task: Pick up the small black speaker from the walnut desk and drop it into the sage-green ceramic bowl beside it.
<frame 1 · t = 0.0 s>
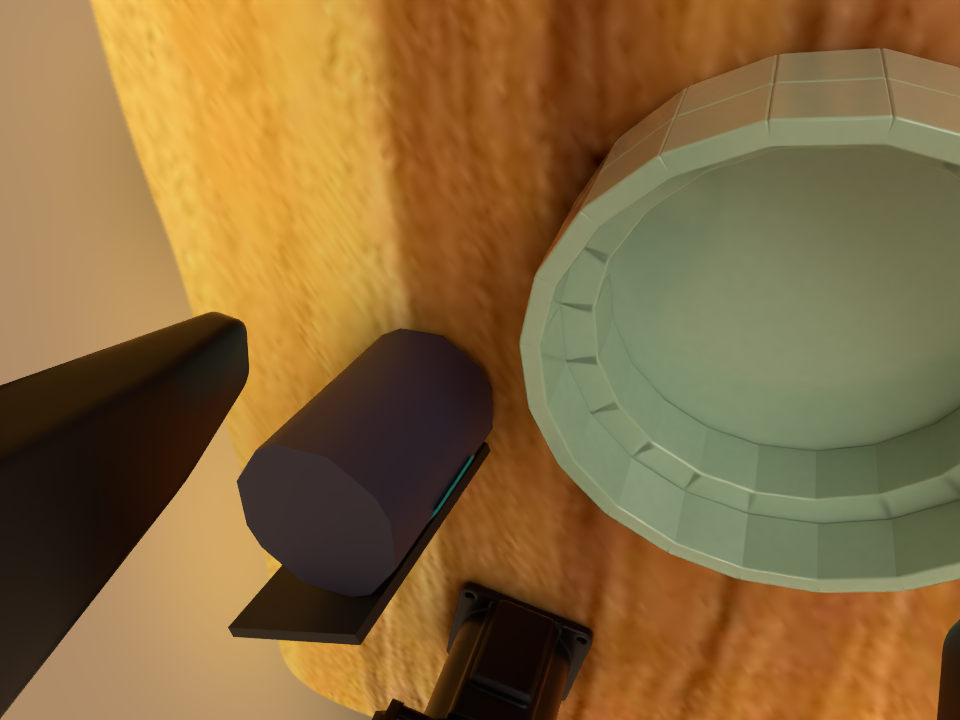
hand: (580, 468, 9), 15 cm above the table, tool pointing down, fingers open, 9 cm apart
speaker: (416, 384, 31), on the table
bowl: (802, 295, 23), on the table
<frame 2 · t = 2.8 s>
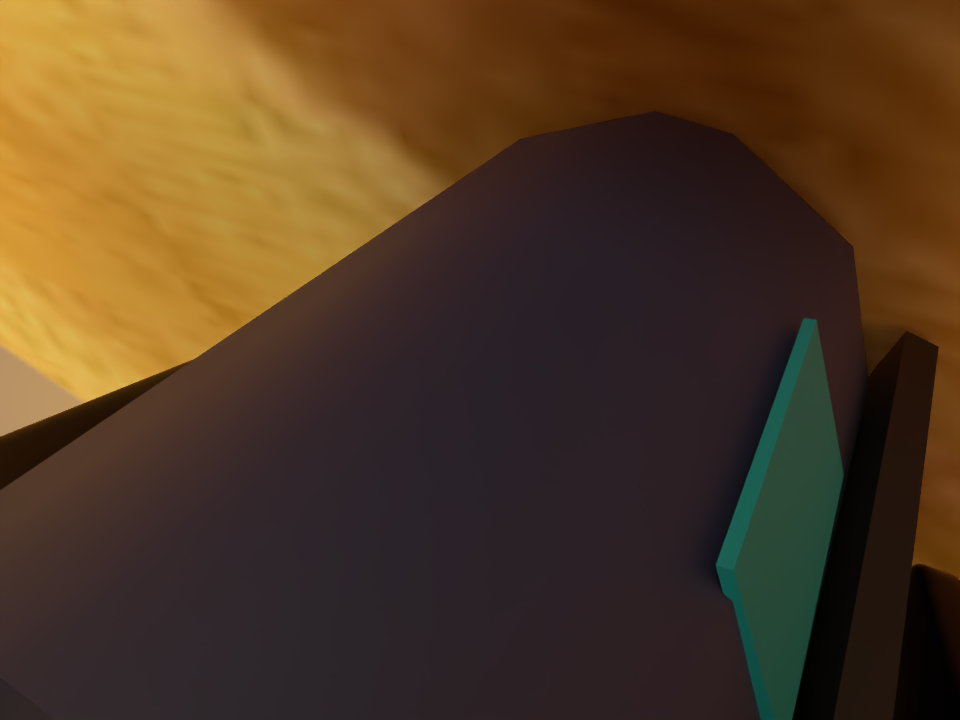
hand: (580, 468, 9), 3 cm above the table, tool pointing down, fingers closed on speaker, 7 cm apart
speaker: (616, 335, 11), on the table, touching gripper
when the fingers open (4 cm above the table, at t = 8.2 s): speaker stays where it is, point 1 cm above the table.
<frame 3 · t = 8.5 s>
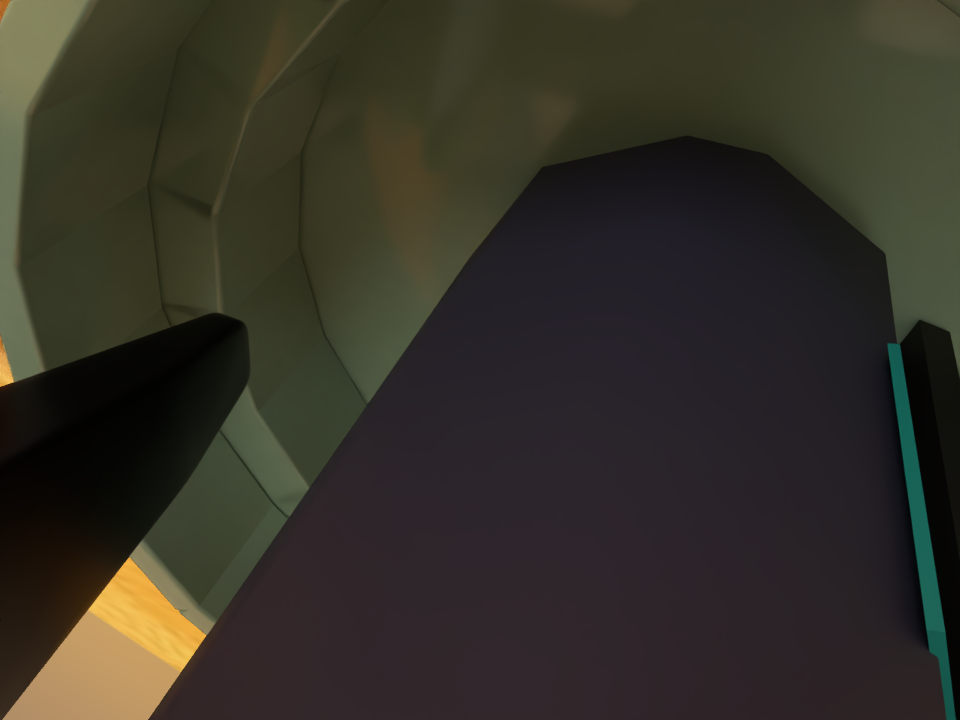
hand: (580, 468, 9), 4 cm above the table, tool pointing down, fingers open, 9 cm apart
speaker: (634, 345, 11), point 1 cm above the table
bowl: (640, 302, 12), on the table
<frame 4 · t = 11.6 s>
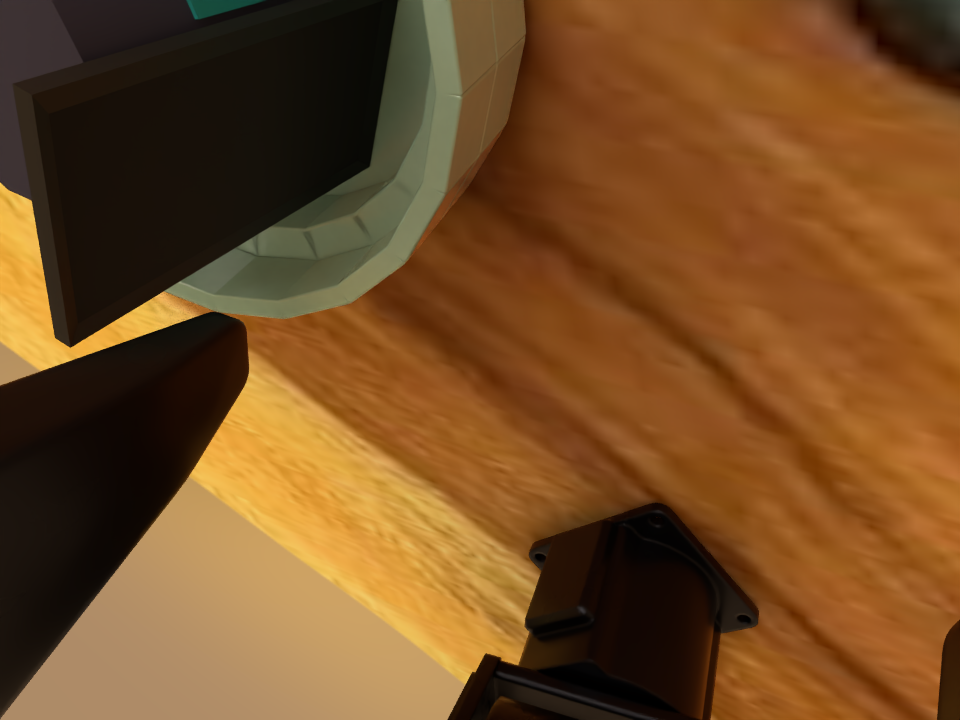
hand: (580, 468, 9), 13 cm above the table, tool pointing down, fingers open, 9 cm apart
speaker: (274, 5, 21), resting on bowl
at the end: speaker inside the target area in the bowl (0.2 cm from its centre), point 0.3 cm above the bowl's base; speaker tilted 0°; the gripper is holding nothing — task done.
